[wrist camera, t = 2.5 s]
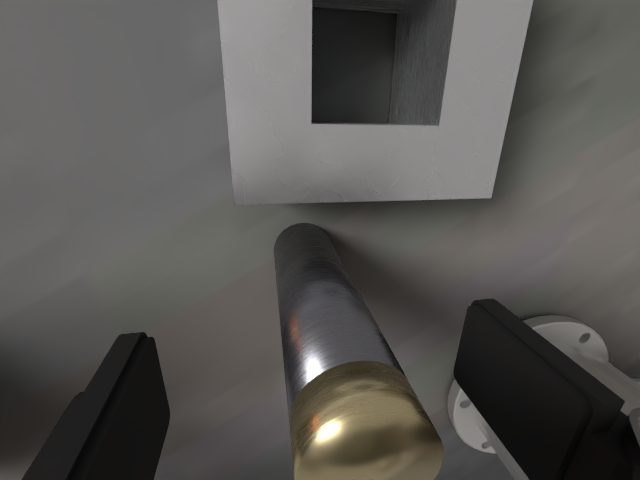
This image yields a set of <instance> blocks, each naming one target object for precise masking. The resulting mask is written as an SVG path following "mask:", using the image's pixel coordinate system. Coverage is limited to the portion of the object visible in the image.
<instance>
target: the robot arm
mask: <svg viewBox="0 0 640 480" xmlns="http://www.w3.org/2000/svg"><path fill="white" fill-rule="evenodd" d="M608 359H609V358H608V352H607V347H606V345H605V343H604V341H603V339H602V337H601V336H600V335H599V334H598V333H597V332H596V331H594V330H593V329H592V328H590V327H588V326H587V325H585V324H584V323H582V322H580V321H579V320H576V319H574V318H571V317H568V316H560V315H547V316H538V317H534V318H530V319H527V320H523V321H522V320H521V319H519V318H518V317H517V316H516V315H514V314H513V313H512V312H510V311H509V310H508V309H507V308H505V307H504V306H503V305H501V304H500V303H499V302H498V301H496V300H494V299H483V300H475V301H473V303H472V304H471V306H469V307H468V309H467V313H466V318H465V322H464V326H463V331H462V335H461V340H460V344H459V349H458V353H457V358H456V362H455V367H454V377H455V379H454V381H453V383H452V385H451V389H450V392H449V396H448V414H449V419H450V421H451V423H452V425H453V426H454V428H455V430H456V432H457V433H458V435H459V436H460V437H461V439H462V440H463V441H464V442H465V443H466V444H468V445H469V446H471V447H472V448H474V449H477V450H479V451H483V452H489V453H496V454H497V455H498V457H499V458H500V459H501V461H502V462H503V464H504V465H505V467H506V468H507V469H508V471H509V472H510V474H511V475H512V477H513V478H514V479H515V480H640V377H637V378H632V379H631V378H630V377H628V376H627V375H625V374H624V373H622V372H621V371H620V370H618V369H617V368H615V367H614V366H613V365H611V364H610V363H608ZM169 420H170V410H169V405H168V400H167V396H166V391H165V386H164V382H163V377H162V372H161V368H160V363H159V358H158V354H157V349H156V344H155V340H154V338H153V337H147V335H146V333H144V332H140V333H130V334H121V335H119V336H118V337H117V339H116V340H115V342H114V344H113V345H112V347H111V349H110V350H109V352H108V354H107V355H106V357H105V358H104V360H103V362H102V363H101V365H100V367H99V368H98V370H97V372H96V373H95V375H94V376H93V378H92V380H91V381H90V383H89V385H88V386H87V388H86V390H85V391H84V392H81V393H79V394H78V395H76V396H75V398H74V399H73V400H72V401H71V403H70V404H69V406H68V407H67V409H66V411H65V412H64V414H63V415H62V417H61V418H60V420H59V422H58V423H57V425H56V426H55V428H54V430H53V431H52V433H51V434H50V436H49V437H48V439H47V441H46V442H45V444H44V445H43V447H42V448H41V450H40V452H39V453H38V455H37V456H36V458H35V459H34V461H33V463H32V464H31V466H30V467H29V469H28V470H27V472H26V474H25V475H24V477H23V478H22V480H154V476H155V472H156V469H157V465H158V462H159V458H160V454H161V451H162V447H163V443H164V440H165V436H166V433H167V429H168V425H169Z"/></svg>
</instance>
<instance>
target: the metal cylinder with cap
mask: <svg viewBox="0 0 640 480" xmlns="http://www.w3.org/2000/svg"><path fill="white" fill-rule="evenodd" d="M274 258H275V270H276V281H277V292H278V303H279V314H280V325H281V336H282V347H283V358H284V369H285V380H286V392H287V403H288V414H289V425H290V436H291V447H292V458H293V469H294V480H434V479H435V478H436V476H437V474H438V472H439V470H440V468H441V465H442V462H443V456H444V451H443V445H442V441H441V439H440V437H439V435H438V433H437V431H436V430H435V428H434V426H433V424H432V422H431V421H430V419H429V417H428V415H427V413H426V412H425V410H424V408H423V406H422V404H421V403H420V401H419V399H418V397H417V395H416V394H415V392H414V390H413V388H412V386H411V385H410V383H409V381H408V379H407V378H406V376H405V374H404V372H403V370H402V369H401V367H400V365H399V363H398V361H397V360H396V358H395V356H394V354H393V352H392V351H391V349H390V347H389V345H388V343H387V342H386V340H385V338H384V336H383V334H382V333H381V331H380V329H379V327H378V325H377V324H376V322H375V320H374V318H373V316H372V315H371V313H370V311H369V309H368V307H367V306H366V304H365V302H364V300H363V298H362V297H361V295H360V293H359V291H358V289H357V288H356V286H355V284H354V282H353V280H352V279H351V277H350V275H349V273H348V271H347V270H346V268H345V266H344V264H343V262H342V261H341V259H340V257H339V255H338V253H337V252H336V250H335V248H334V246H333V244H332V243H331V241H330V239H329V237H328V236H327V234H326V233H325V232H324V231H323V230H322V229H321V228H319V227H318V226H316V225H313V224H308V223H300V224H295V225H292V226H290V227H288V228H287V229H285V230H284V231H283V232H282V233H281V234H280V235H279V237H278V238H277V240H276V242H275V246H274Z"/></svg>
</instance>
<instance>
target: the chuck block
mask: <svg viewBox="0 0 640 480" xmlns="http://www.w3.org/2000/svg"><path fill="white" fill-rule="evenodd" d="M532 5H533V0H218V12H219V24H220V36H221V48H222V60H223V72H224V84H225V96H226V109H227V121H228V133H229V145H230V157H231V169H232V181H233V193H234V205H254V204H292V203H329V202H367V201H404V200H441V199H479V198H491V197H492V192H493V187H494V183H495V178H496V173H497V169H498V164H499V159H500V155H501V150H502V145H503V141H504V136H505V131H506V126H507V122H508V117H509V112H510V108H511V103H512V98H513V94H514V89H515V84H516V80H517V75H518V70H519V66H520V61H521V56H522V52H523V47H524V42H525V37H526V33H527V28H528V23H529V19H530V14H531V9H532ZM312 8H321V9H334V10H348V11H361V12H375V13H388V14H397V25H396V36H395V48H394V59H393V71H392V82H391V94H390V105H389V117H388V123H340V122H311V107H312Z"/></svg>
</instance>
